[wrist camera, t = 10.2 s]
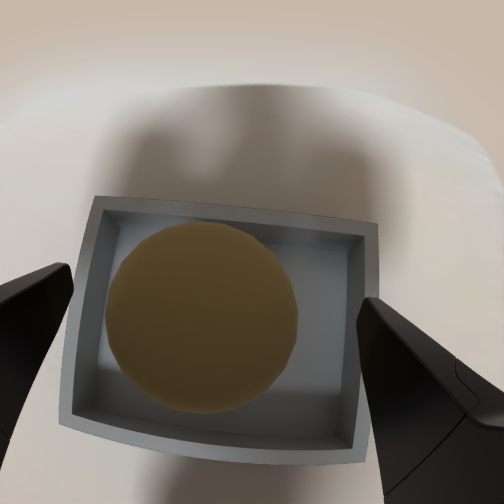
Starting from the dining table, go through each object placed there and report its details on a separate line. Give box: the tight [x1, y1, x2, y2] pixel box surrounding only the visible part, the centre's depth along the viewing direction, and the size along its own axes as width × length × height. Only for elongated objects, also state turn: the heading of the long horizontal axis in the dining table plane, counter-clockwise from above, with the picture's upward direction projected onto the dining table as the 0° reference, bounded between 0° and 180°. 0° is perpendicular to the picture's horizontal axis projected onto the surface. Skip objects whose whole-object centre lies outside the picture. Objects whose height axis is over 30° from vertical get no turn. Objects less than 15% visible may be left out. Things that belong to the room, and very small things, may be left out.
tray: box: [59, 196, 379, 465], centre depth 16 cm, size 16×13×4 cm
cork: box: [104, 221, 298, 414], centre depth 12 cm, size 6×6×11 cm
